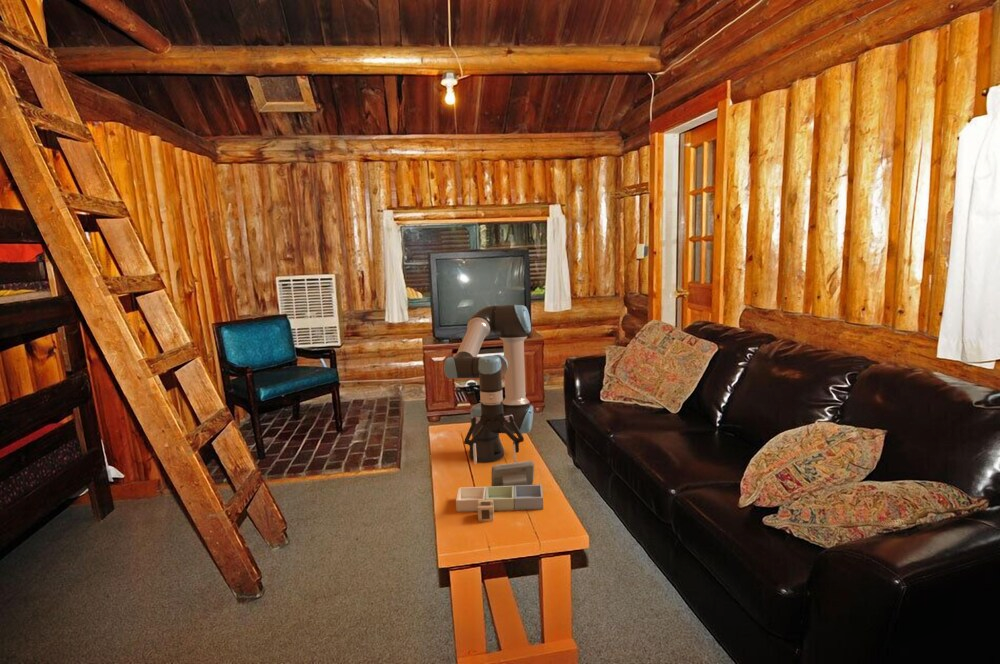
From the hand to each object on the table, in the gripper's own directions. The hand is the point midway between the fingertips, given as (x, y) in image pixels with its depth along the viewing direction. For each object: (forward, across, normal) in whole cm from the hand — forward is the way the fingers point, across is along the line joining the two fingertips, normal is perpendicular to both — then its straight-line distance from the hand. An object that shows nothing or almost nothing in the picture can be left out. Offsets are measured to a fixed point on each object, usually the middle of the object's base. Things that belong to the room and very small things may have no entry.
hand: (495, 462), depth 181 cm
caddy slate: (+16, +11, +2) cm, 20 cm away
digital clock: (+16, +6, +14) cm, 22 cm away
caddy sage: (+16, +1, +2) cm, 17 cm away
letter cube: (+17, -4, -6) cm, 18 cm away
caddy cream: (+16, -9, +2) cm, 19 cm away
